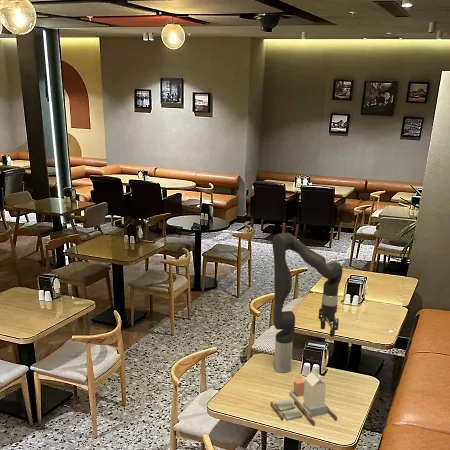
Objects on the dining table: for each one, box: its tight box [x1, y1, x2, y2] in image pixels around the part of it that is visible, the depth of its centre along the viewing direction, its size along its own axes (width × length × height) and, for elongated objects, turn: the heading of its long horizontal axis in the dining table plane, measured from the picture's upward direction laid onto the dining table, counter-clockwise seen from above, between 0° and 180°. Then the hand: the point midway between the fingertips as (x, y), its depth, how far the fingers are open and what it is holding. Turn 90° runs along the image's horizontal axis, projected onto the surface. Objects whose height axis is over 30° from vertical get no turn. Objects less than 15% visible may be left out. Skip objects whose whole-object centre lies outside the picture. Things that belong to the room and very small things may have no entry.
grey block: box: [288, 378, 329, 418], centre depth 231 cm, size 20×10×7 cm, turn 20°
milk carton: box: [302, 369, 327, 411], centre depth 225 cm, size 7×7×19 cm
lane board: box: [269, 399, 338, 427], centre depth 225 cm, size 20×24×2 cm
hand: (327, 332), depth 239 cm, fingers open, 8 cm apart
